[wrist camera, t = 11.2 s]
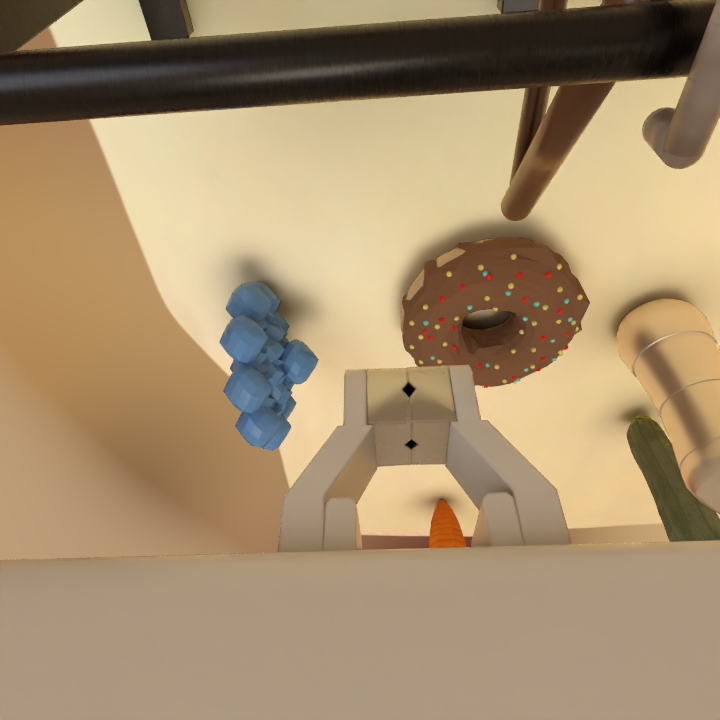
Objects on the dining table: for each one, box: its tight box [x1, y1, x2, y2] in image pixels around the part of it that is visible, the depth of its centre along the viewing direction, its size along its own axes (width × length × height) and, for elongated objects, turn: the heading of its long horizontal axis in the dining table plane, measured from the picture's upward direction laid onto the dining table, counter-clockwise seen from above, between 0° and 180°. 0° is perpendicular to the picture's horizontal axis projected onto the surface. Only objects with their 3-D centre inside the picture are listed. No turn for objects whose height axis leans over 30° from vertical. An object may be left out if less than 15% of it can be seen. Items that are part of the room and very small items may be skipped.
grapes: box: [220, 281, 318, 450], centre depth 38 cm, size 12×7×12 cm, turn 7°
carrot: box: [429, 499, 466, 548], centre depth 62 cm, size 5×5×15 cm
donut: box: [401, 238, 590, 388], centre depth 39 cm, size 14×14×5 cm
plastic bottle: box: [616, 298, 720, 514], centre depth 36 cm, size 6×7×20 cm
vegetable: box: [627, 415, 720, 542], centre depth 46 cm, size 4×4×20 cm
